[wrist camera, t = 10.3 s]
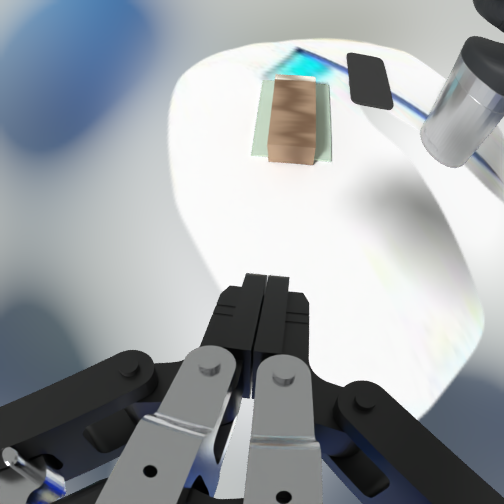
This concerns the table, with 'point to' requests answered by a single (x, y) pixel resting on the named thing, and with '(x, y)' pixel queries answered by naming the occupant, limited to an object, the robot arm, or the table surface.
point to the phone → (368, 81)
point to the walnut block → (293, 120)
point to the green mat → (321, 122)
